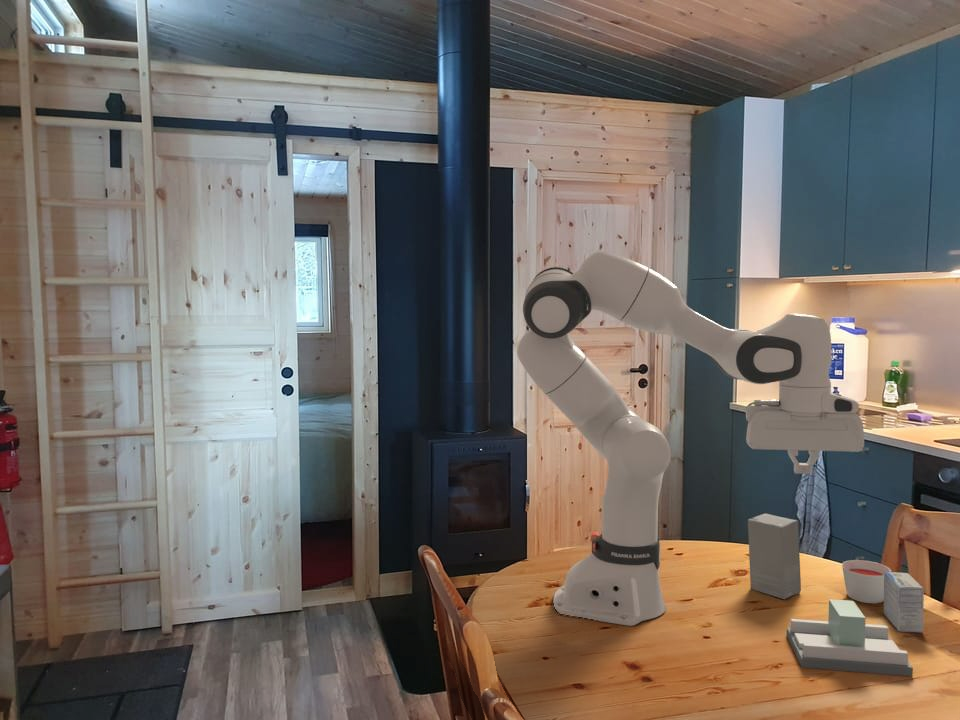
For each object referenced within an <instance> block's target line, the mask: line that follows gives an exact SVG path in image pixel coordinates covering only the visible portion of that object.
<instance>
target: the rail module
mask: <svg viewBox="0 0 960 720" xmlns="http://www.w3.org/2000/svg"><path fill="white" fill-rule="evenodd" d="M865 624H866V616H865V615H864V614H863V612H862V611H861V610H860V608H859V607H858V605H857V604H856V602H855V600H846V599H845V600H844V599H841V600H840V599H828V632H829V634H830V636H831V637H832V639H833V641H834V642H835V644H836V645H840V646H853V647H865Z"/></svg>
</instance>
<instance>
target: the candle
mask: <svg viewBox="0 0 960 720" xmlns="http://www.w3.org/2000/svg"><path fill="white" fill-rule="evenodd" d="M841 567H842V573H843V580H844V586H845V591H846V595H847V596H848V597H849V598H850V599H852V600H853V601H857V602H860V603H865V604H880V603H882V602H883V603H884V575H885V572H892V570H891V568H890V567H888V566H886V565H884V564H881V563H878V562H875V561H870V560H863V559H861V560H859V559H853V560H852V559H851V560H846V561H843V562H842V563H841Z"/></svg>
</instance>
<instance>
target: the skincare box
mask: <svg viewBox="0 0 960 720" xmlns="http://www.w3.org/2000/svg"><path fill="white" fill-rule="evenodd" d="M747 531H748V532H747V533H748V553H749V558H748V559H749V578H750V579H749V580H750V581H749V582H750V584H749V585H750V589H751V590H754V591H756V592H760V593H763V594H765V595H769V596H771V597H772V596H773V597H775V598H778V599H782V600H786V599H788V598H790V597H793V596H795V595H798V594H800V593H801V591H802V583H801V581H802V580H801V579H802V578H801V559H800V557H801V556H800V554H801V553H800V536H799V533H800V532H799V520H797V519H792V518H788V517H782V516H777V515H774V514H769V513H766V512H765V513H763V514H760V515H756V516H754V517H750V518H748V519H747Z"/></svg>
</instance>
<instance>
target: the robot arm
mask: <svg viewBox="0 0 960 720" xmlns="http://www.w3.org/2000/svg"><path fill="white" fill-rule="evenodd" d="M524 297H525V298H524V300H523V304H522V305H523V306H522V313H523V317H524V321H525V323H526V325H527V327H528V328H529V330H528V331H527V332H526V333H524V335H523V336H522V337H521V339H520V340H519V343H518V345H517V350H516V356H517V358H518V360H519V361H520V363H521V365H522V367H523V368H524V370H525V371H526V372H527V374H528V376H529V377H530V378H531V379H532V381H533V382H534V383H535V384H536V385H537V387H538V388H539V389H540V390H541V391H542V392H543V394H544V395H545V396H547V398H548V399H549V400H550V401H551V402H552V403H553V404H554V405H555V406H556V407H557V408H558V409H559V411H560V412H562V414H563V415H564V416H565V417H566V418H567V419H568V420H569V421H570V422H571V424H573V426H574V427H575V428H576V429H577V430H578V431H579V433H580V434H581V435H582V436H583V437H584V438H585V439H586V440H587V441H588V443H589V444H590V445H591V446H592V447H593V448H594V449H595V450H596V451H597V453H599V455H600V456H601V457H602V458H603V459H604V460H606V461H607V463H608V465H607V466H608V472H607V473H608V474H607V481H606V485H605V486H606V487H605V489H604V490H605V492H604V494H603V495H602V498H601V534H600V533H599V532H597V531H593V532H592V534H591V535H590V541H591V553H590V554H588V555H587V556H586V557H584V558H582V559H581V560H580V561H577V563H575V564H574V565H572V566H571V567H570V569H568V570H569V571H568V572H567V574H566V577H565V582H564V585H562V586H561V587H559V588H558V589H557V590H556V591H555V593H554V595H553V601H552V604H553V603H554V606H553V608H554V607H555V609H556V610H557V611H558V612H559V613H562V614H568V615H573V616H578V617H583V618H582V619H584V618H588V619H587V620H590V619H594V620H593V621H597V620H598V621H597V622H603V623H609V624H617V625H622V626H628V627H632V626H635V625H638V624H639V623H641V622H644V621H648V620H652V619H655V618H657V617H659V616H661V615H663V614H664V613H665V611H666V610H667V609H666V604H665V601H664V597H663V593H662V587H661V581H660V573H659V572H660V571H659V570H660V569H659V568H660V565H661V544H660V539H659V537H658V527H659V524H658V523H659V517H658V515H659V498H660V492H661V489H662V483H663V477H664V474H665V470H666V469H667V468H668V466H670V465H669V464H670V462H671V457H672V453H671V452H672V451H671V447H670V444H669V442H668V440H667V438H666V436H665V435H664V434H663V432H662V431H661V429H659V428H658V427H657V426H655V425H654V424H652V423H650V422H648V421H646V420H645V419H643V418H641V417H640V416H639V415H638V414H636V413H635V412H634V411H633V409H631V407H630V406H629V405H628V403H626V401H625V400H624V399H623V397H622V396H621V394H619V392H618V391H617V389H616V388H615V387H614V385H613V383H612V382H611V381H610V380H609V379H608V378H607V377H606V376H605V375H604V374H603V372H602V371H601V370H600V369H599V368H598V367H597V366H596V364H595V363H593V361H591V360H590V358H589V357H588V356H587V355H586V354H585V353H584V352H583V351H582V350H581V349H580V348H579V347H578V346H577V344H576V343H575V342H574V341H573V339H572V337H571V336H570V333H571V332H572V331H573V330H574V329H576V327H578V326H579V324H580V323H582V322H583V321H584V319H586V318H587V317H588V316H589V315H590V314H591V312H592V310H593V311H600V312H602V313H605V314H607V315H609V316H611V317H613V318H615V319H617V320H618V321H621V322H622V323H623V324H626V325H628V326H631V327H633V328H636V329H638V330H640V331H641V330H642V331H645V332H649V333H652V334H657V335H659V334H660V335H666V336H670V337H673V338H675V339H678V340H679V341H682V342H683V343H685V344H686V345H689V346H690V347H692V348H695V349H696V350H698V351H700V352H702V353H703V354H705V355H706V356H708V357H710V359H711V360H712V361H713V362H714V363H715V365H716V366H717V367H718V369H719V370H720V371H721V372H722V373H723V374H724V375H725V376H727V377H729V378H731V379H733V380H738V381H739V380H740V381H744V382H747V383H750V384H754V385H766V384H770V383H771V384H772V383H776V382H778V383H779V384H778V387H779V388H778V399H771V400H770V399H769V400H762V399H756V400H754V401H752V402H750V403H749V404H748V405H746V408H745V418H746V419H745V420H746V422H748V423H747V427H746V437H745V441H746V444H747V445H748V446H749V447H750V448H751V449H752V450H772V451H773V450H775V451H776V450H777V451H778V450H779V451H781V450H782V451H787V454H788V457H789V458H790V460H791V461H792V463H793V473H794V474H795V475H796V474H797V475H799V474H800V475H801V474H803V475H804V474H805V475H812V474H813V466H814V465H815V464H816V462H817V460H818V459H819V457H820V452H821V451H822V452H851V453H852V452H853V453H854V452H856V453H858V452H861V451H862V450H863V448H864V447H865V431H864V424H863V420H862V418H861V417H860V416H859V415H858V414H857V412H858V411H859V403H858V401H856V400H854V399H852V398H850V397H848V396H844V395H842V394H839V393H837V392H834V393H833V392H832V390H831V389H832V383H831V379H830V368H831V365H832V338H831V337H832V336H831V330H830V327H829V324H828V322H827V321H826V320H825V319H824V318H821V317H818V316H815V315H809V314H803V313H787V314H785V315H784V316H783V317H782V318H781V319H779V320H778V321H776V322H775V323H773V324H771V325H769V326H766V327H764V328H762V329H758V330H756V331H751V330H748V329H742V328H741V329H740V328H728V327H725V326H723V325H720V323H716V322H715V321H713V320H711V319H709V318H707V317H706V316H704V315H702V314H700V313H699V312H697V311H695V310H693V309H692V308H691V307H690V306H688V305H687V304H686V302H685V301H684V300H683V297H682V293H681V291H680V289H679V288H678V286H676V285H675V284H674V283H673V282H672V281H670V280H669V279H668V278H666V277H664V276H663V275H662V274H660V273H659V272H656V271H655V270H653V269H651V268H649V267H647V266H645V265H644V264H641V263H639V262H636V261H634V260H632V259H629V258H627V257H624V256H622V255H618V254H615V253H611V252H608V251H603V250H602V251H597V252H594V253H593V254H591V255H589V256H588V257H587V258H586V259H585V260H584V261H583V263H582V264H581V266H580V268H579V269H578V270H577V271H576V272H575V273H573V272H572V271H570V270H569V269H566V268H564V267H558V266H557V267H556V266H555V267H554V266H553V267H549V268H546V269H543V270H542V271H540V272H538V273H537V274H536V275H535V276H534V278H533V280H532V281H531V282H530V284H529V285H528V287H527V289H526V292H525V296H524ZM799 451H808V454H809V456H810V457H809V458H808V460H807V461H806V462H799V461H798V459H797V458H796V457H798V456H799ZM555 609H554V610H555ZM559 613H558V614H559ZM578 617H577V618H578Z"/></svg>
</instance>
